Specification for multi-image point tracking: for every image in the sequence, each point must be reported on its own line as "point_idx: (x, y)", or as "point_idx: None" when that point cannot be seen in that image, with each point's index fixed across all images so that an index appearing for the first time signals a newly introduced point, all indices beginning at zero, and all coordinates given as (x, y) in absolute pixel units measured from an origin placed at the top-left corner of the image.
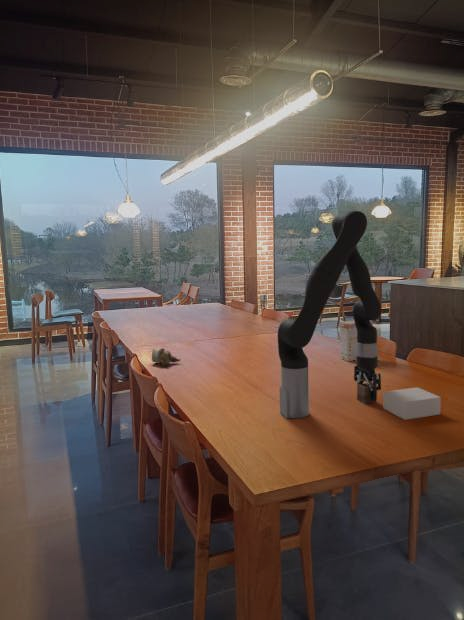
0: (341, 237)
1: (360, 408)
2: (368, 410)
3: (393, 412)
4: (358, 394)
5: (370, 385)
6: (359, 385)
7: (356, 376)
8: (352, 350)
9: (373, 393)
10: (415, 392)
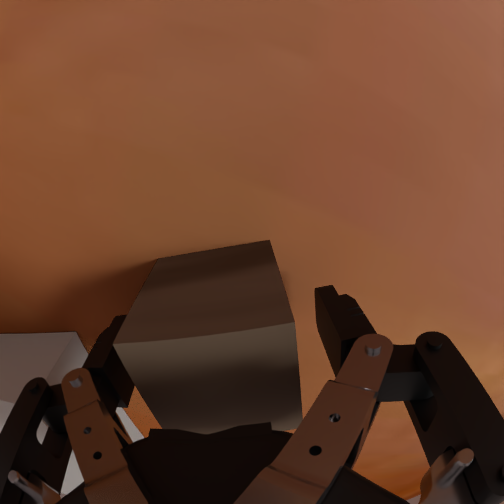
0: None
1: (68, 194)
2: (37, 235)
3: (12, 337)
4: (251, 267)
5: (74, 407)
6: (240, 335)
7: (433, 388)
8: None
9: (85, 362)
10: (69, 482)
